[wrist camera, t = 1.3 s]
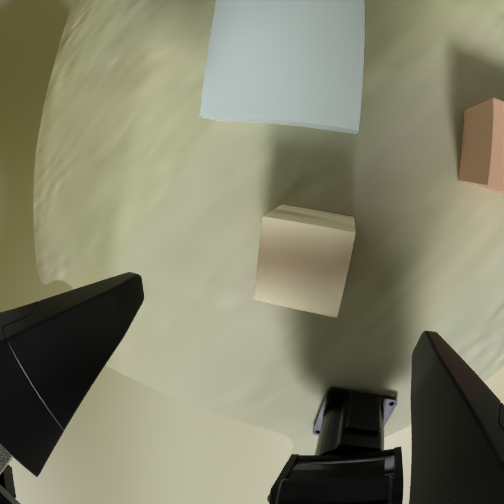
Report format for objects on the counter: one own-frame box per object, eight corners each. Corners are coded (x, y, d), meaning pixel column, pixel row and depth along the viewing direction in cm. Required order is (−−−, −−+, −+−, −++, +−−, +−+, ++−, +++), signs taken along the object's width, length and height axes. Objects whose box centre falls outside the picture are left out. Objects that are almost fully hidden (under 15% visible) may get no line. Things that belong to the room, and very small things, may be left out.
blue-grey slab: (357, 135, 18) (358, 130, 15) (218, 121, 21) (199, 116, 18) (363, 11, 15) (364, -9, 12) (232, 8, 18) (217, -9, 15)
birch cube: (340, 284, 21) (337, 317, 16) (273, 271, 22) (253, 299, 18) (353, 216, 19) (355, 232, 15) (282, 204, 21) (262, 216, 16)
